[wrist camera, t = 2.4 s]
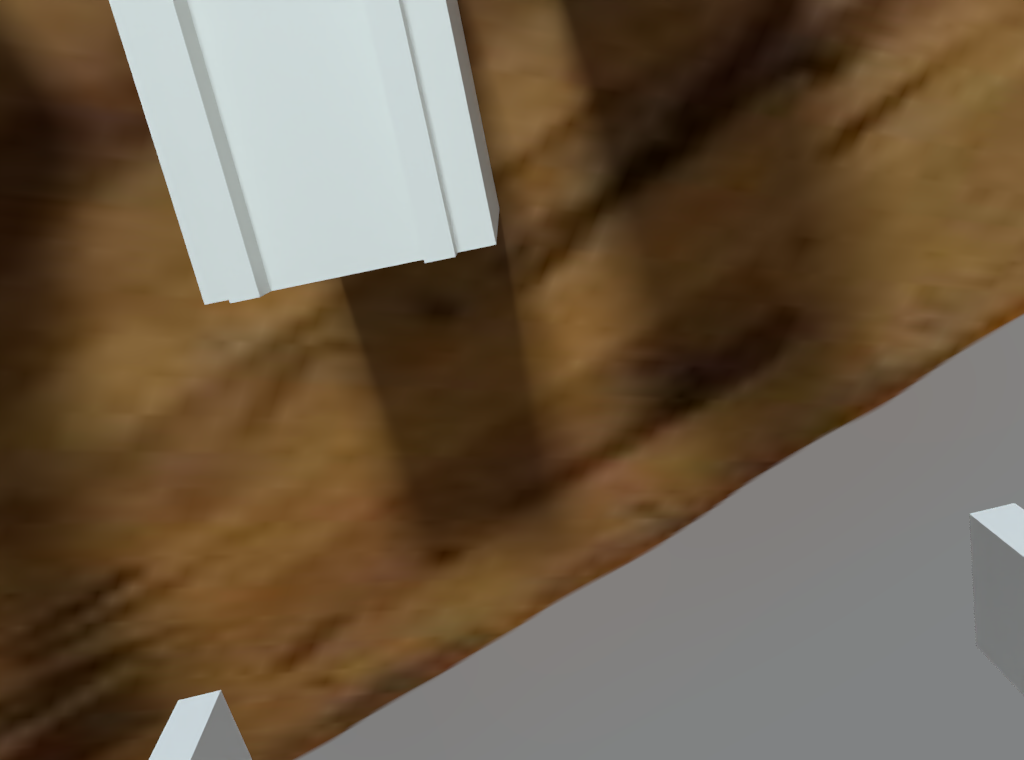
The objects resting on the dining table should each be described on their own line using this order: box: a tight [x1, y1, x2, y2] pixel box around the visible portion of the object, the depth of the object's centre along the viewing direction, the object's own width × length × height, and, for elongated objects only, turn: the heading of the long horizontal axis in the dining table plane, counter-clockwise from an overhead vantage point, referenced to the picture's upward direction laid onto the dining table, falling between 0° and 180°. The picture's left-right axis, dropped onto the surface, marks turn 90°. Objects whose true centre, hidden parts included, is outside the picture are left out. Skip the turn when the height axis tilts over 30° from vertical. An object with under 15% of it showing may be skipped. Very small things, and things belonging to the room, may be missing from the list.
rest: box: [109, 0, 499, 304], centre depth 32 cm, size 10×17×21 cm, turn 11°
